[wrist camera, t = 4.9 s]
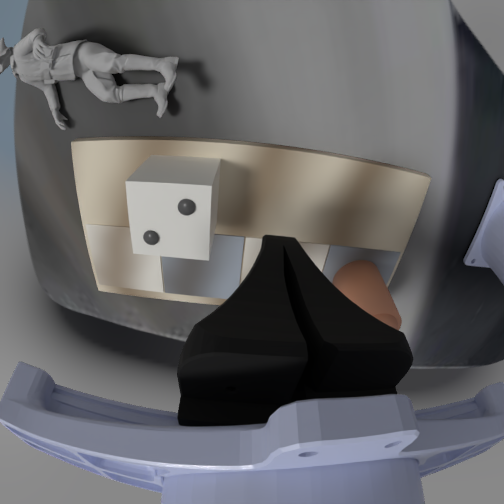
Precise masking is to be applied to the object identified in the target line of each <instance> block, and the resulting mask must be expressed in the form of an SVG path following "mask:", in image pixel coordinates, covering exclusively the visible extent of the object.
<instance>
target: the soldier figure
mask: <svg viewBox="0 0 504 504" xmlns="http://www.w3.org/2000/svg"><path fill="white" fill-rule="evenodd" d="M45 39H46V32H45V30H44V29H43V28H37V29H35V30H33V31H32V32H31V33H29V34H28V35H27V36H26V37H24V38H23V39H22V40H21V41H19V43H18V44H17V45H15V46H14V48H13V47H9V48H7V47H6V46H5V43H4V38H2V39H1V40H0V74H1V73H2V72H3V71H4V70H5V69H6V68H7V67H8V66H9V65H10V64H11V68H12V69H13V71H12V72H13V74H14V76H15V77H16V78H17V79H18V75H19V76H20V79H21V80H22V81H24V82H26V83H28V84H30V85H33V86H35V87H38V88H39V89H41V90H42V91H44V93H45V95H46V98H47V100H48V103H49V107H50V109H51V112H52V114H53V117H54V119H55V122H56V124H57V125H58V126H59V127H60V128H61V129H63V130H66V129H65V127H64V126H62V125H64V124H63V123H62V122H61V120H62V119H64V120H68V119H67V118H65V117H64V116H63V115H62V114H61V113H60V112H59V109H60V103H59V99H58V93H57V90H56V86H55V84H54V83H57V82H58V81H65V80H76V79H77V78H78V77H80V78H82V79H83V81H84V82H85V85H86V87H87V88H88V89H89V90H90V91H91V92H92V93H93V94H94V95H95V96H96V97H98V98H99V99H100V100H102V101H104V102H109V103H119V104H120V103H123V101H128V100H132V99H138V98H145V97H146V98H150V97H154V100H155V101H156V102H157V104H158V112H157V116H158V117H160V118H161V117H162V116H163V115H164V113H165V111H166V109H167V105H168V101H167V95H168V94H169V91H170V90H171V89H172V87H173V85H174V83H175V81H176V77H177V74H176V73H175V71H176V69H177V65H178V60H179V58H178V57H165V58H155V57H148V56H141V55H136V54H128V55H127V54H124V55H122V56H121V55H120V54H117V53H115V52H114V51H112V50H110V49H108V48H106V47H105V46H103V45H101V44H99V43H93V42H88V41H87V40H77V41H72V42H69V43H64V44H57V45H55V46H50V45H48V44H46V43H43V42H44V41H45ZM125 70H156V71H158V72H161V74H162V75H163V76H164V77H165V80H166V83H158V85H154V84H124V85H123V86H117V85H116V82H115V79H114V77H113V75H112V74H116V73H118V72H119V73H123V72H124V71H125Z"/></svg>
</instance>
